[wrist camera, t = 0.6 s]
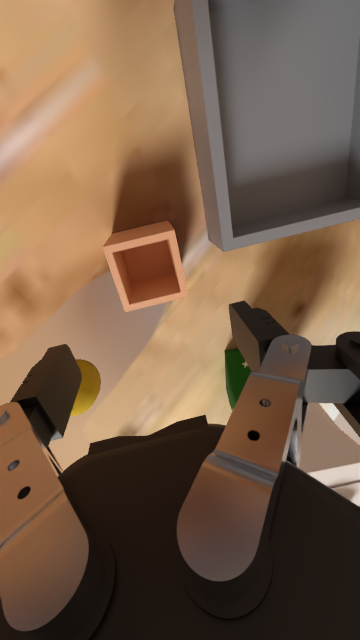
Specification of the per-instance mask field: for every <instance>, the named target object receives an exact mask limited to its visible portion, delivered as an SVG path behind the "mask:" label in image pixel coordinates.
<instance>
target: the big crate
mask: <svg viewBox="0 0 360 640" xmlns="http://www.w3.org/2000/svg"><path fill="white" fill-rule="evenodd" d="M174 13H175V20H176V26H177V33H178V40H179V46H180V53H181V59H182V66H183V73H184V79H185V86H186V92H187V99H188V106H189V112H190V119H191V125H192V132H193V139H194V145H195V152H196V158H197V165H198V172H199V178H200V185H201V191H202V198H203V205H204V211H205V218H206V224H207V231H208V238H209V240H210V241H211V242H212V243H213V244H214V245H216V246H217V247H218V248H219V249H221V250H222V251H223V252H225V251H229V250H234V249H238V248H242V247H246V246H250V245H254V244H258V243H262V242H266V241H271V240H275V239H279V238H283V237H287V236H291V235H295V234H299V233H304V232H308V231H312V230H316V229H320V228H324V227H328V226H332V225H337V224H341V223H345V222H349V221H353V220H357V219H360V0H175V3H174Z"/></svg>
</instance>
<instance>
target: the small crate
mask: <svg viewBox="0 0 360 640" xmlns="http://www.w3.org/2000/svg"><path fill="white" fill-rule="evenodd" d="M103 250H104V253H105V256H106V259H107V262H108V265H109V267H110V270H111V273H112V276H113V279H114V282H115V285H116V287H117V290H118V293H119V296H120V299H121V302H122V305H123V307H124V310H125V312H127V311H131V310H135V309H139V308H143V307H148V306H151V305H156V304H160V303H164V302H168V301H172V300H176V299H180V298H185V297H189V296H188V292H187V287H186V282H185V277H184V273H183V268H182V263H181V258H180V253H179V249H178V244H177V239H176V234H175V230H174V228H173V227H172V226H171V224H170V223H169V221H168V220H166V221H162V222H158V223H154V224H150V225H146V226H142V227H137V228H133V229H129V230H125V231H121V232H117V233H112V234H111V236H110V237H109V239H108V240H107V241H106V243H105V244H104V246H103Z"/></svg>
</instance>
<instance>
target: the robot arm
mask: <svg viewBox="0 0 360 640" xmlns="http://www.w3.org/2000/svg"><path fill="white" fill-rule="evenodd" d="M229 313H230V321H231V328H232V334H233V338H234V341H235V344H236V345H237V347H238V349H239V351H240V352H241V354H242V356H243V357H244V359H245V361H246V363H247V364H248V366H249V368H250V369H251V371H252V372H251V373H250V375H249V377H248V379H247V381H246V384H245V386H244V388H243V390H242V392H241V394H240V397H239V399H238V401H237V403H236V405H235V407H234V410H233V412H232V414H231V416H230V418H229V420H228V423H227V425H226V426H225V425H221V424H208V423H207V419H206V415H203V416H199V417H195V418H190V419H186V420H182V421H178V422H176V423H174V424H172V425H170V426H167V427H165V428H163V429H161V430H159V431H157V432H155V433H153V434H151V435H148V436H118V437H114V438H110V439H106V440H102V441H98V442H94V443H90V448H89V452H88V454H87V455H86V456H84V457H82V458H80V459H79V460H77V461H76V462H74V463H73V464H72V465H70V466H69V467H68V468H67V469H66V470H64V471H63V469H62V468H61V466H60V464H59V462H58V461H57V459H56V457H55V455H54V454H53V452H52V450H51V449H50V447H49V446H48V445H49V443H50V441H52V440H56V439H60V438H63V435H64V432H65V429H66V426H67V423H68V420H69V417H70V414H71V411H72V408H73V405H74V402H75V399H76V396H77V393H78V390H79V387H80V384H81V381H82V375H81V370H80V368H79V366H78V364H77V362H76V360H75V358H74V356H73V354H72V352H71V350H70V348H69V347H68V345H66V344H63V345H59V346H55V347H51V348H49V349H48V350H47V352H46V353H45V355H44V356H43V358H42V360H40V361H39V362H38V363H37V364H36V365H35V366H34V367H32V369H31V370H30V372H29V373H28V375H27V377H26V378H25V380H24V381H23V384H21V386H20V387H19V389H18V390H17V392H16V394H15V395H14V397H13V398H12V400H11V402H10V403H6V404H4V405H2V406H0V640H360V507H359V506H358V505H356V504H354V503H353V502H351V501H350V500H348V499H347V498H345V497H343V496H342V495H340V494H339V493H337V492H336V491H334V490H332V489H331V488H329V487H328V486H326V485H325V484H323V483H321V482H320V481H318V480H317V479H315V478H314V477H312V476H310V475H309V474H307V473H306V472H304V471H303V470H301V469H299V465H300V457H301V447H302V440H303V434H304V429H305V424H306V418H307V413H308V408H309V403H333V404H334V405H335V406H336V408H337V409H338V410H339V411H340V413H341V414H342V415H343V417H344V418H345V419H346V420H347V422H348V423H349V424H350V425H351V427H352V428H353V429H354V431H355V432H356V433H357V434H358V436H359V437H360V332H346V333H343V334H341V335H339V336H338V337H337V339H336V345H324V346H314V345H311V343H310V342H309V341H308V340H307V339H306V338H304V337H301V336H297V335H290V334H289V333H288V332H287V331H286V330H285V329H284V328H283V327H282V326H281V325H280V324H279V323H278V322H276V320H275V319H274V318H273V317H272V316H271V315H270V314H269V313H268V312H267V311H265V310H262V309H260V308H254V309H252V308H251V307H250V306H249V305H248V304H247V303H246V301H240V302H236V303H232V304H229Z"/></svg>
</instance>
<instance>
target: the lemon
mask: <svg viewBox="0 0 360 640" xmlns="http://www.w3.org/2000/svg"><path fill="white" fill-rule="evenodd" d="M76 362H77V364H78V366H79V368H80V370H81V375H82V381H81V384H80V387H79V390H78V393H77V396H76V399H75V402H74V405H73V408H72V411H71V414H70V416H74V415H78V414H81V413H83V412H85V411H86V410H88V409H89V408H90V407H91V406H92V405H93V403H94V402H95V400H96V398H97V396H98V394H99V391H100V384H101V379H100V374H99V372H98V370H97V368H96V367H95V366H94V365H93V364H92V363H90V362H88V361H85V360H76Z"/></svg>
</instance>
